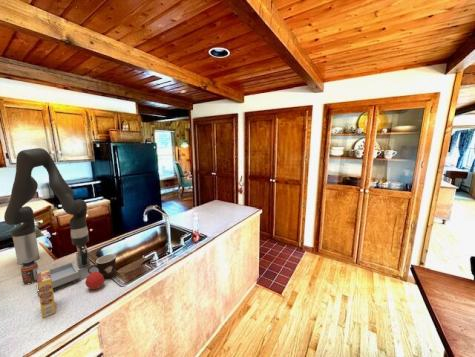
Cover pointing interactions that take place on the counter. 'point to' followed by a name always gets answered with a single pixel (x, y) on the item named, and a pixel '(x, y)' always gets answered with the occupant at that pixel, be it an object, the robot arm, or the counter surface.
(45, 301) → the candy box
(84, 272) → the runner mat
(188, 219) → the counter surface
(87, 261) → the steel block
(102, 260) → the coffee mug
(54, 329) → the counter surface
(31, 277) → the supplement bottle
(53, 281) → the grey shallow tray
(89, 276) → the tomato
